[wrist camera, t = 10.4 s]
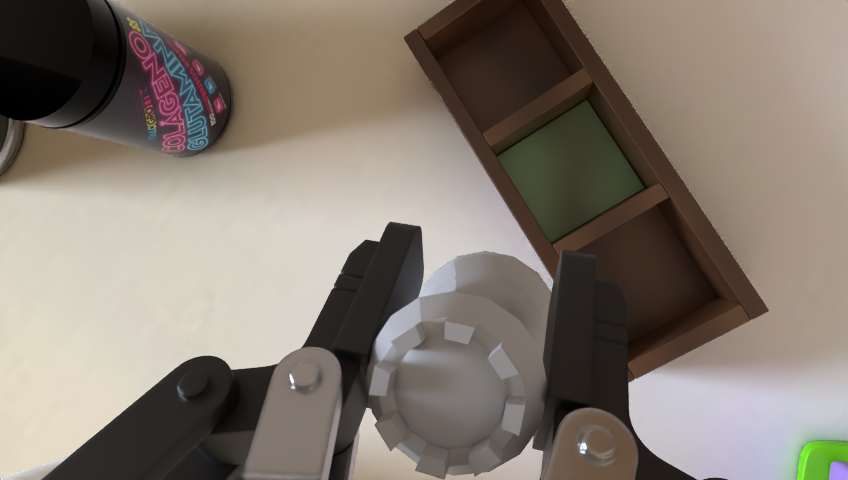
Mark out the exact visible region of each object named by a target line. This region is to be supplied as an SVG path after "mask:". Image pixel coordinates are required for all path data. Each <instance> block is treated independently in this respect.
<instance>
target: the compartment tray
mask: <svg viewBox="0 0 848 480" xmlns="http://www.w3.org/2000/svg"><path fill="white" fill-rule="evenodd" d="M417 29H418V30H417ZM417 29H415V30H413V31H412V32H411V33H409V34H408V35H406V36H405V37H404V40H405V42H406V43H407V45H408V46H409V48H410V50H411V51H412V53H413V54H414V56H415V58H416V59H417V61H418V63H419V64H420V66H421V67H422V69H423V71H424V72H425V74H426V75H427V77H428V79H429V80H430V82H431V84H432V85H433V87H434V88H435V90H436V92H437V93H438V95H439V96H440V98H441V100H442V101H443V103H444V105H445V106H446V108H447V109H448V111H449V113H450V114H451V116H452V117H453V119H454V121H455V122H456V124H457V126H458V127H459V129H460V130H461V132H462V134H463V135H464V137H465V138H466V140H467V142H468V143H469V145H470V147H471V148H472V150H473V151H474V153H475V155H476V156H477V158H478V159H479V161H480V163H481V164H482V166H483V168H484V169H485V171H486V172H487V174H488V176H489V177H490V179H491V180H492V182H493V184H494V185H495V187H496V189H497V190H498V192H499V193H500V195H501V197H502V198H503V200H504V201H505V203H506V205H507V206H508V208H509V210H510V211H511V213H512V214H513V216H514V218H515V219H516V221H517V222H518V224H519V226H520V227H521V229H522V231H523V232H524V234H525V235H526V237H527V239H528V240H529V242H530V243H531V245H532V247H533V248H534V250H535V252H536V253H537V255H538V256H539V258H540V260H541V261H542V263H543V265H544V266H545V268H546V269H547V271H548V273H549V274H550V276H551V277H552V279H553V281H554V279H555V275H556V271H557V266H558V262H559V258H560V253H561V250H562V249H563V250H569V251H576V252H582V253H588V254H594V255H595V256H596V267H595V279H600V280H606V281H612V282H617V284H618V286H619V288H620V290H621V292H622V294H623V296H624V298H625V300H626V302H627V338H628V342H627V346H628V383H629V382H631V381H633V380H634V379H635V378H639V377H641V376H643V375H645V374H647V373H649V372H651V371H652V370H654V369H656V368H658V367H660V366H662V365H664V364H666V363H668V362H670V361H672V360H674V359H676V358H678V357H680V356H682V355H684V354H686V353H688V352H690V351H692V350H694V349H696V348H697V347H699V346H701V345H703V344H705V343H707V342H709V341H711V340H713V339H715V338H717V337H719V336H721V335H723V334H725V333H727V332H729V331H731V330H733V329H735V328H737V327H739V326H741V325H742V324H744V323H746V322H748V321H750V320H751V319H754V318H756V317H758V316H760V315H762V314H764V313H766V312H768V311H769V310H768V308H767V307H766V305H765V304H764V302H763V301H762V299H761V298H760V296H759V295H758V293H757V292H756V290H755V289H754V287H753V286H752V284H751V283H750V281H749V280H748V278H747V277H746V275H745V274H744V272H743V271H742V269H741V268H740V266H739V265H738V263H737V262H736V260H735V259H734V257H733V256H732V254H731V253H730V251H729V250H728V248H727V247H726V245H725V244H724V242H723V241H722V239H721V238H720V236H719V235H718V233H717V232H716V230H715V229H714V228H713V226H712V225H711V223H710V222H709V220H708V219H707V217H706V216H705V214H704V213H703V211H702V210H701V208H700V207H699V205H698V204H697V202H696V201H695V199H694V198H693V196H692V195H691V193H690V192H689V190H688V189H687V187H686V186H685V184H684V183H683V181H682V180H681V178H680V177H679V175H678V174H677V172H676V171H675V169H674V168H673V166H672V165H671V163H670V162H669V160H668V159H667V157H666V156H665V154H664V153H663V151H662V150H661V148H660V147H659V145H658V144H657V142H656V141H655V139H654V138H653V136H652V135H651V133H650V132H649V130H648V129H647V127H646V126H645V124H644V123H643V121H642V120H641V118H640V117H639V115H638V114H637V112H636V111H635V109H634V108H633V106H632V105H631V103H630V102H629V100H628V99H627V97H626V96H625V94H624V93H623V92H622V90H621V89H620V87H619V86H618V84H617V83H616V81H615V80H614V78H613V77H612V75H611V74H610V72H609V71H608V69H607V68H606V66H605V65H604V63H603V62H602V60H601V59H600V57H599V56H598V54H597V53H596V51H595V50H594V48H593V47H592V45H591V44H590V42H589V41H588V39H587V38H586V36H585V35H584V33H583V32H582V30H581V29H580V27H579V26H578V24H577V23H576V21H575V20H574V18H573V17H572V15H571V14H570V12H569V11H568V9H567V8H566V6H565V5H564V3H563V2H562V0H455V1H454V2H453V3H451V4H450V5H448V6H447V7H446V8H444V9H443V10H441V11H440V12H439V13H437V14H436V15H435V16H433V17H432V18H430V19H429V20H428V21H426V22H425V23H423V24H422V25H421V26H419V27H418V28H417Z"/></svg>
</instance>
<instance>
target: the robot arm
mask: <svg viewBox="0 0 848 480" xmlns="http://www.w3.org/2000/svg"><path fill="white" fill-rule="evenodd" d="M23 130H24V122H22V121H17V120H13V119H10V118H7V117H4V116H2V115H1V114H0V175H1V174H2V173H3V172H4V171H5V170H6V169H7V168H8V167H9V165H10V164H11V162H12V161H13V159H14V157H15V155H16V153H17V151H18V149H19V146H20V143H21V140H22V135H23ZM595 267H596V256H595V255H594V254H588V253H582V252H576V251H569V250H563V249H562V250H561V253H560V258H559V262H558V266H557V271H556V275H555V279H554V284H553V288H552V293H551V298H550V303H549V310H548V317H547V326H546V334H545V343H544V352H543V364H544V369H545V374H546V379H547V384H548V389H547V395H546V401H545V408H544V413H543V418H542V423H541V426H540V427H539V428H538V430H537V431H536V433H535V434H534V438H533V447H532V448H533V449H537V450H541V451H543V460H542V470H541V477H540V480H697V479H695V478H693V477H691V476H690V475H688V474H686V473H684V472H682V471H681V470H679V469H677V468H675V467H674V466H672V465H670V464H668V463H666V462H665V461H663V460H662V459H660V458H658V457H657V456H656V455H654V454H653V453H652V452H651V451H650V450H649V449H648V448H647V447H646V446H645V445H644V444H643V443H642V442H641V440H640V439H639V438H638V436H637V434H636V433H635V431H634V429H633V426H632V424H631V420H630V417H629V394H628V346H627V342H628V338H627V302H626V300H625V298H624V296H623V294H622V292H621V290H620V288H619V286H618V284H617V282H612V281H606V280H600V279H595ZM423 274H424V263H423V246H422V231H421V227H420V226H414V225H408V224H401V223H395V222H389V223H388V225H387V226H386V228H385V231H384V233H383V235H382V237H381V240H380V242H376V241H370V240H365V241H364V242H362V243H361V244H360V245H359V246H358V247H357V248H356V249H355V250H353V251H352V252H351V253H350V254H349V256H348V258H347V260H346V262H345V264H344V266H343V268H342V270H341V275H339V276H338V278H337V280H336V282H335V284H334V289H332V291H331V293H330V295H329V297H328V299H327V301H326V303H325V305H324V307H323V309H322V311H321V313H320V315H319V317H318V319H317V321H316V323H315V325H314V327H313V329H312V331H311V333H310V335H309V337H308V339H307V340H306V342H305V344H304V345H303V346H302V348H301V349H298V350H296V351H294V352H292V353H290V354H289V355H287V356H286V357H285V358H283V359H282V360H281V361H280V363H279V364H275V365H272V366H267V367H258V368H247V369H237V370H231V369H230V367H229V366H228V364H227V363H226V362H225V361H223V360H222V359H220V358H218V357H214V356H200V357H196V358H193V359H190V360H188V361H186V362H184V363H182V364H181V365H179V366H178V367H177V368H175V369H174V370H173V371H172V372H171V373H169V374H168V375H167V376H166V377H164V378H163V379H162V380H161V381H160V382H158V383H157V384H156V385H155V386H154V387H152V388H151V389H150V390H149V391H148V392H146V393H145V394H144V395H143V396H141V397H140V398H139V399H138V400H137V401H135V402H134V403H133V404H132V405H131V406H129V407H128V408H127V409H126V410H125V411H123V412H122V413H121V414H120V415H119V416H117V417H116V418H115V419H114V420H112V421H111V422H110V423H109V424H108V425H106V426H105V427H104V428H103V429H102V430H100V431H99V432H98V433H97V434H96V435H94V436H93V437H92V438H91V439H90V440H88V441H87V442H86V443H85V444H83V445H82V446H81V447H80V448H79V449H77V450H76V451H75V452H74V453H73V454H71V455H70V456H69V457H68V458H67V459H65V460H64V461H63V462H62V463H60V464H59V465H58V466H57V467H56V468H54V469H53V470H52V471H51V472H50V473H48V474H47V475H46V476H45V477H44V478H42V479H41V480H353V473H354V467H355V460H356V454H357V447H358V441H359V426H360V423H361V421H362V418H363V415H364V412H365V410H366V408H370V409H371V403H370V398H369V393H368V387H367V382H366V374H367V369H368V365H369V362H370V356H371V350H372V344H373V342H374V341H375V339H376V338H377V336H378V335H379V333H380V332H381V330H382V329H383V327H384V326H385V324H386V323H387V321H388V319H389V318H390V316H392V315H393V314H395V313H396V312H398V311H399V310H401V309H402V308H404V307H405V306H407V305H408V304H410V303H411V302H413V301H414V300H416V299H417V298H418V297H419V294H420V290H421V286H422V281H423ZM704 480H727V479H723V478H708V479H704Z"/></svg>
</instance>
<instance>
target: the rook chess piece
mask: <svg viewBox="0 0 848 480" xmlns="http://www.w3.org/2000/svg"><path fill="white" fill-rule="evenodd" d="M550 298H551V291H550V290H549V288H548V287H547V285H546V284H545V282H544V281H543V279H542V278H541V277H540V275H539V274H538V273H537V272H536V271H534V270H533V269H531V268H530V267H528V266H527V265H525V264H524V263H522V262H521V261H519V260H518V259H516V258H515V257H512V256H507V255H502V254H497V253H492V252H487V251H483V252H478V253H473V254H468V255H463V256H458V257H456V258H455V259H453V260H452V261H450V262H449V263H447V264H446V265H444V266H443V267H441V268H440V269H438V270H437V271H435V272H434V273H433V274H432V275H431V276H430V277H429V279H428V280H427V282H426V283H425V285H424V286H423V288H422V289H421V291H420V294H419V297H418V298H417V299H416V300H414V301H413V302H411V303H410V304H408V305H407V306H405V307H404V308H402V309H401V310H399V311H398V312H396V313H395V314H393V315H392V316H390V318H389V319H388V321H387V323H386V324H385V326H384V327H383V329H382V330H381V332H380V333H379V335H378V336H377V338H376V339H375V341H374V342H373V344H372V350H371V356H370V362H369V365H368V369H367V374H366V382H367V387H368V393H369V398H370V403H371V409H372V413H373V415H374V416H375V418H376V419H377V422H376V424H375V427H376V428H377V430H378V432H379V433H380V435H381V437H382V438H383V440H384V441H385V443H386V445H387V446H388V448H389V450H390V451H391V450H392V449H393V448H395V447H397V448H398V449H399V450H400V451H402V452H403V453H404V454H406V455H407V456H408V457H409V458H411V459H412V460H413V461H415V462H416V463H417V464H418V465H417V467H416V469H415V471H418V472H422V473H425V474H428V475H431V476H435V477H438V478H441V479H445V477H446V474H451V475H463V474H472V473H474V475H475V476H476V475H478V474H480V473H482V472H490V471H491V470H493V469H495V468H497V467H498V466H500V465H502V464H504V463H505V462H507V461H509V460H511V459H512V458H514V457H516V456H518V455H519V454H520V453H521V452H522V451H523V449H524V448H525V447H526V445H527V444H528V442H529V441H530V440H531V438H532V437H533V435H534V434H535V433H536V431H537V430H538V428H539V427H540V426H541V423H542V418H543V413H544V408H545V401H546V395H547V389H548V384H547V379H546V374H545V369H544V364H543V352H544V343H545V334H546V326H547V317H548V310H549V303H550Z"/></svg>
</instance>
